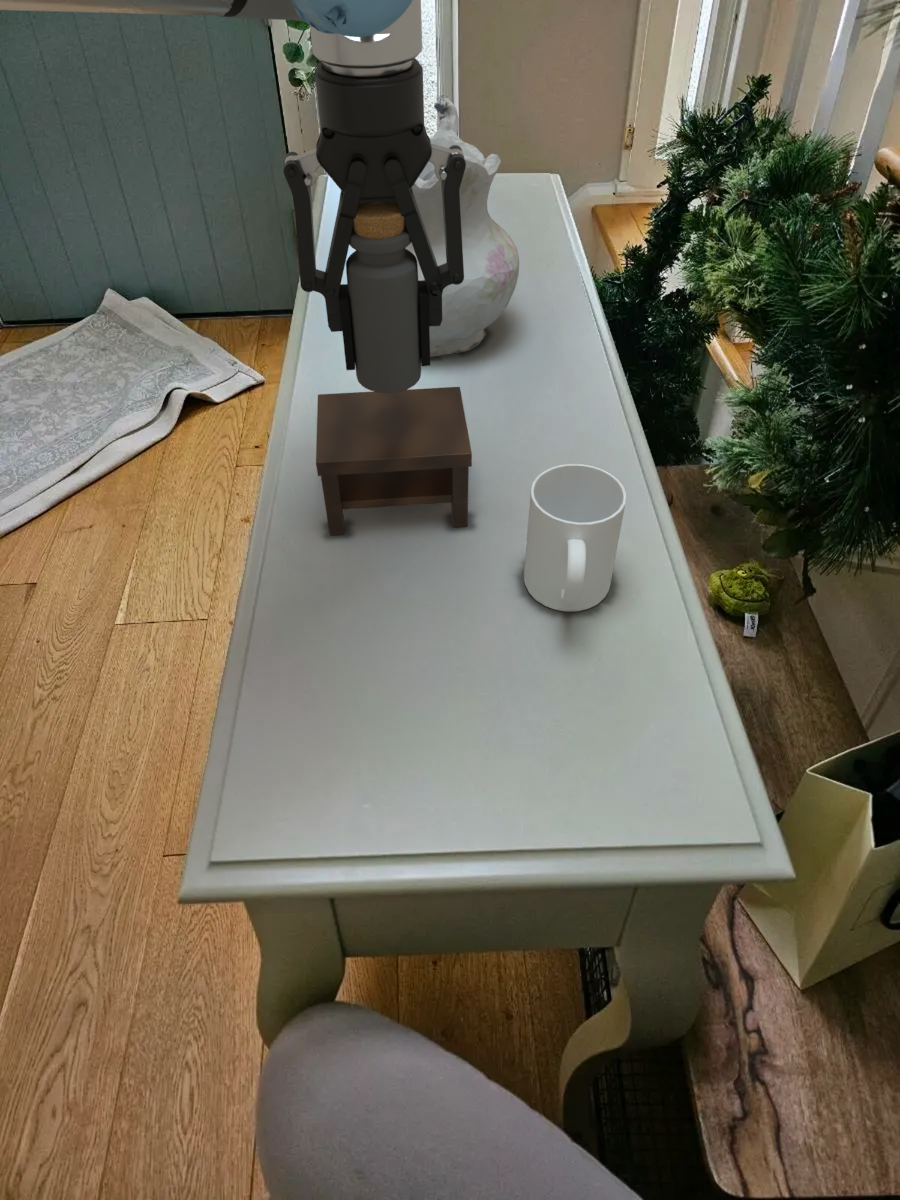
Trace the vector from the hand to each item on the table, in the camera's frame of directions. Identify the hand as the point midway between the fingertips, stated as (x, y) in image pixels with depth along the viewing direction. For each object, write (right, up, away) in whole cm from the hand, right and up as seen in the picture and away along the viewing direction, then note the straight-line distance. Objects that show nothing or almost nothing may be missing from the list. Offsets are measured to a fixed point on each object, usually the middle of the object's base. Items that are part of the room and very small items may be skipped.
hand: (387, 359), depth 76 cm
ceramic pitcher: (+4, +13, +35) cm, 37 cm away
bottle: (0, -1, +1) cm, 2 cm away
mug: (+16, -21, +1) cm, 27 cm away
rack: (0, -11, +11) cm, 16 cm away
